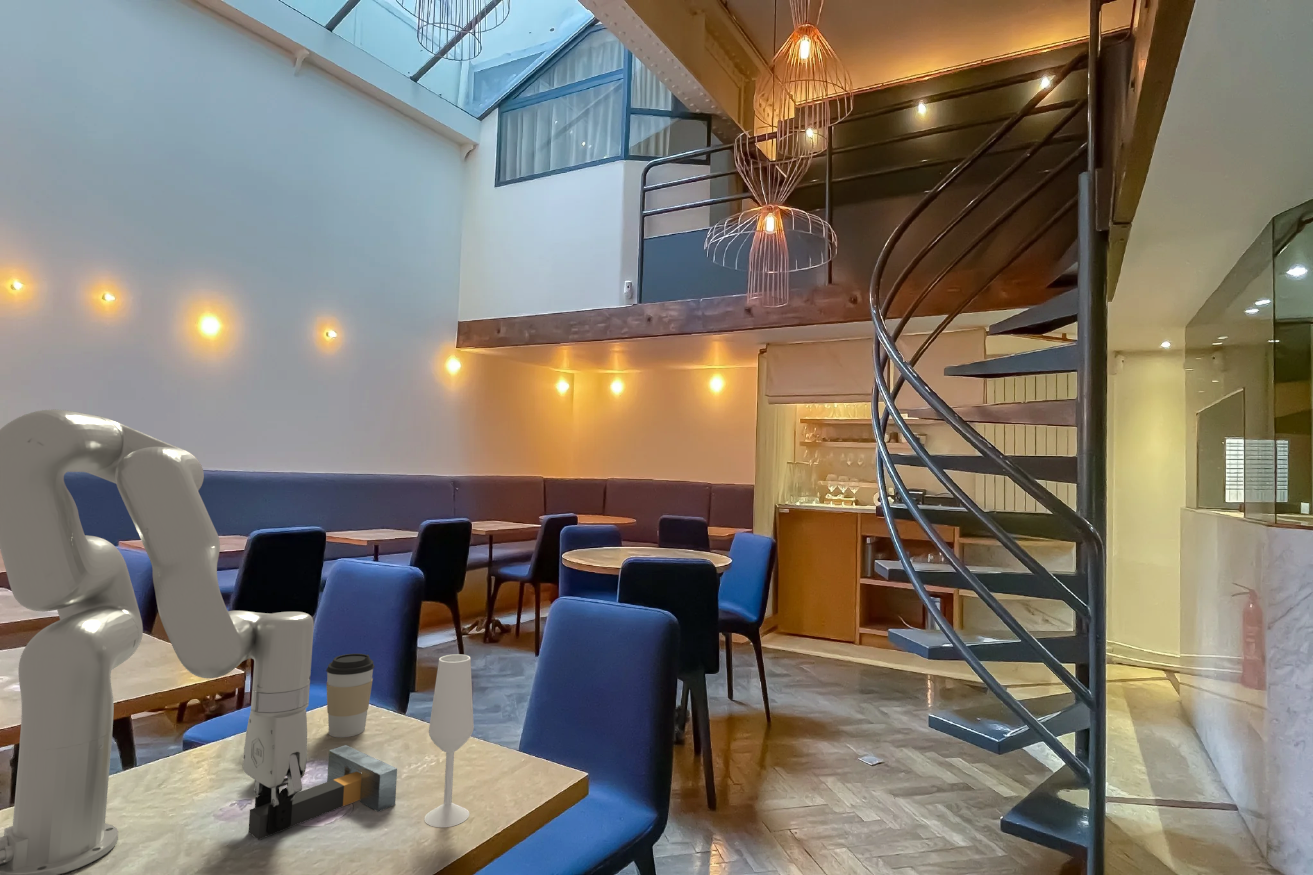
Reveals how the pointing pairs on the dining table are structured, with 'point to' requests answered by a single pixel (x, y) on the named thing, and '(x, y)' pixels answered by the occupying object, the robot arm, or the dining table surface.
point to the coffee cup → (348, 694)
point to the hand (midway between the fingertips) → (272, 824)
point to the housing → (365, 776)
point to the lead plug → (311, 803)
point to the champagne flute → (451, 728)
